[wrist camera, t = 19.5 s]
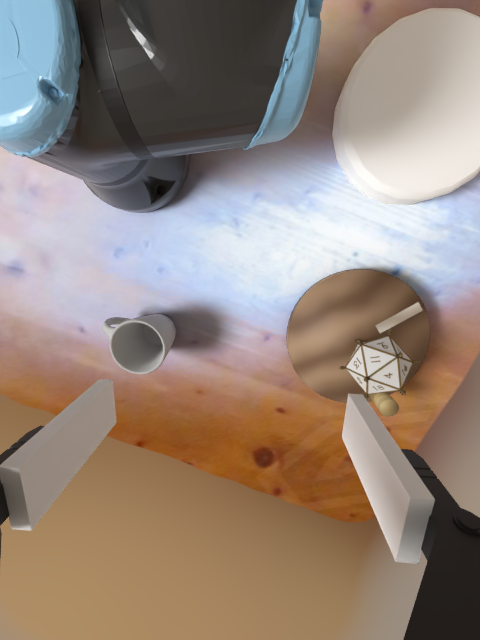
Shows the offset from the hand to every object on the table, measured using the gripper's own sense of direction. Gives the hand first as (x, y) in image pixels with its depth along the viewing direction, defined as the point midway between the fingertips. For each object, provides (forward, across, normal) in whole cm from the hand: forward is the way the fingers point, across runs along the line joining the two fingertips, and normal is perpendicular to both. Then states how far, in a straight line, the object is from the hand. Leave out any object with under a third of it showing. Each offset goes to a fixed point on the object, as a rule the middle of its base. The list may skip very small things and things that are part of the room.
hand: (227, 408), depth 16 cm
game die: (+26, +16, -4) cm, 31 cm away
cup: (+29, -15, -5) cm, 33 cm away
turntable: (+29, +16, -4) cm, 33 cm away
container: (+30, +20, +24) cm, 44 cm away
